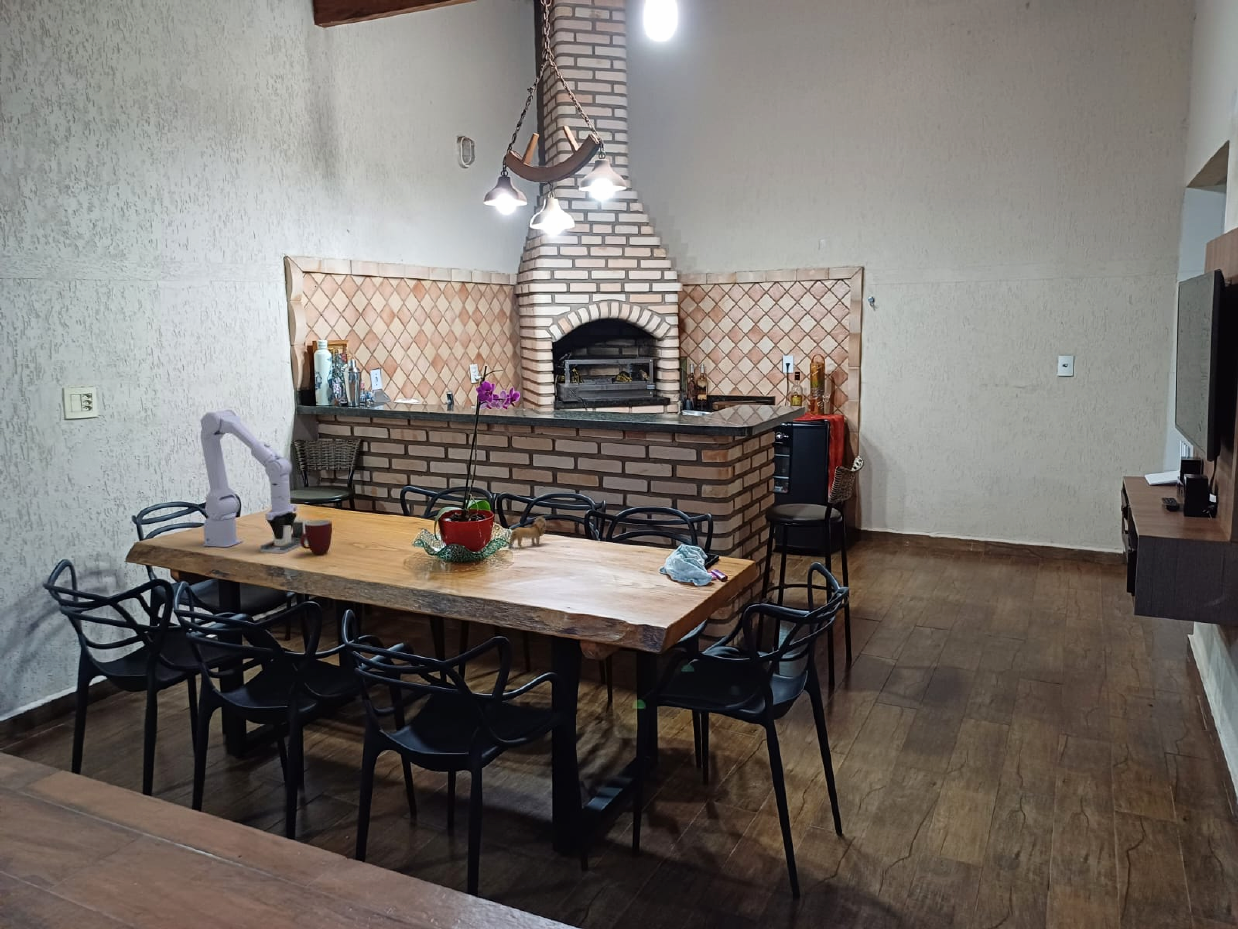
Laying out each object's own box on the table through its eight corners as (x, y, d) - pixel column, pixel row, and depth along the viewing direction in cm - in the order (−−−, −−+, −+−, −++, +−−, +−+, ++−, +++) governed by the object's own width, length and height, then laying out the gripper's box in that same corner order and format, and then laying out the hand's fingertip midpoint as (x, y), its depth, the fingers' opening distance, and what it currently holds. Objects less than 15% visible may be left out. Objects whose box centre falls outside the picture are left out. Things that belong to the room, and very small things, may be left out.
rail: (261, 552, 280) (259, 530, 279) (295, 538, 298) (293, 518, 297) (283, 553, 278) (282, 532, 277) (316, 539, 297) (315, 519, 295)
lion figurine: (541, 541, 293) (540, 515, 292) (550, 544, 289) (550, 517, 288) (503, 549, 284) (503, 521, 282) (512, 552, 280) (512, 524, 278)
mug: (313, 560, 270) (311, 528, 269) (294, 557, 274) (292, 525, 273) (338, 552, 280) (337, 521, 278) (320, 549, 283) (318, 519, 282)
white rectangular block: (274, 545, 283) (273, 527, 282) (281, 542, 287) (280, 524, 286) (285, 546, 283) (284, 527, 282) (292, 543, 286) (291, 525, 286)
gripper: (278, 500, 275) (281, 543, 277) (304, 492, 289) (306, 532, 291) (258, 499, 276) (261, 542, 278) (285, 491, 290) (287, 531, 292)
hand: (283, 537), depth 285 cm, fingers closed on white rectangular block, 4 cm apart
